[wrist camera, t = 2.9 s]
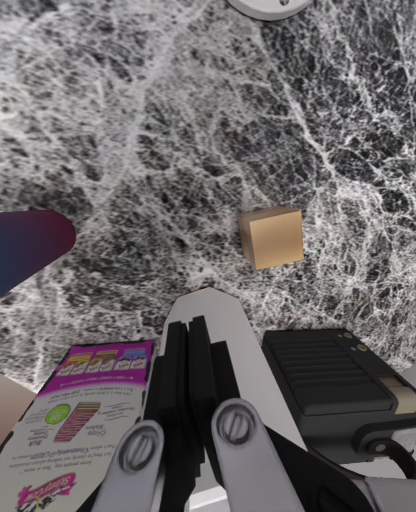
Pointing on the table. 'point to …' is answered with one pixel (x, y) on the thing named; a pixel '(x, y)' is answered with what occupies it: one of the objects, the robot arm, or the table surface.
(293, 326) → the table surface
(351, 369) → the camera
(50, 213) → the cup
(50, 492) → the candy bar box
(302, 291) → the table surface
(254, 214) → the block
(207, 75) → the table surface
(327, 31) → the table surface
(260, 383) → the cup
